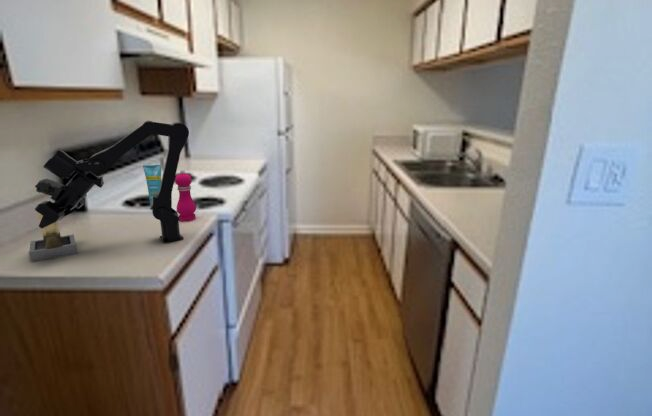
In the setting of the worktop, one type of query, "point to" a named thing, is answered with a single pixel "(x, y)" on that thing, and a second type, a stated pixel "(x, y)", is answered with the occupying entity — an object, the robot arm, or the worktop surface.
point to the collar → (52, 249)
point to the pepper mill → (185, 197)
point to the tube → (153, 179)
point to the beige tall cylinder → (51, 234)
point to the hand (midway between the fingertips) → (44, 225)
